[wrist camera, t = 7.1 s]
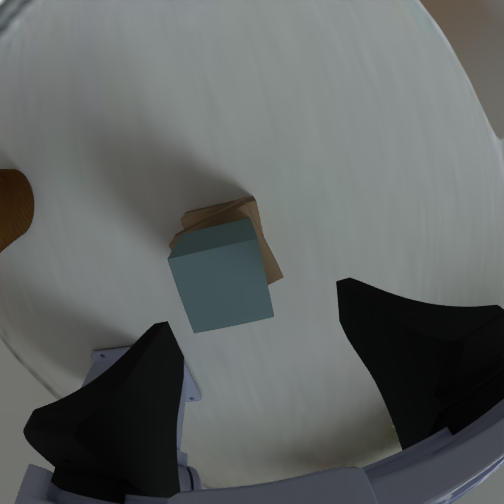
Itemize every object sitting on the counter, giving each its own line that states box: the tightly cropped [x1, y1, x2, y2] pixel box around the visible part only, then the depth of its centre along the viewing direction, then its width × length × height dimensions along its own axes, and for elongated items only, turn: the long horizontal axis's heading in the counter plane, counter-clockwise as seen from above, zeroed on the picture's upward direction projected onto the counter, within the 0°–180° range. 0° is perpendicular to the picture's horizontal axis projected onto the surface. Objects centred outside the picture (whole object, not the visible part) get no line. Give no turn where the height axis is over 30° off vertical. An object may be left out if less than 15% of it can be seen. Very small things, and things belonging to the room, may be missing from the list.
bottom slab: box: [181, 196, 264, 236], centre depth 20 cm, size 5×5×2 cm
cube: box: [168, 218, 274, 333], centre depth 14 cm, size 4×4×4 cm
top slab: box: [169, 198, 283, 285], centre depth 18 cm, size 5×5×2 cm
